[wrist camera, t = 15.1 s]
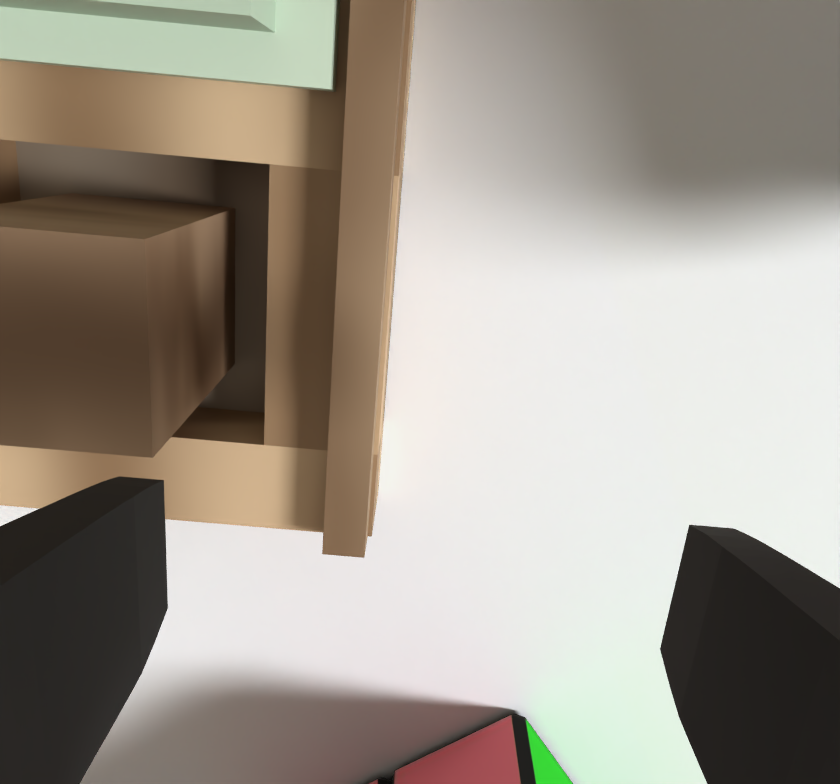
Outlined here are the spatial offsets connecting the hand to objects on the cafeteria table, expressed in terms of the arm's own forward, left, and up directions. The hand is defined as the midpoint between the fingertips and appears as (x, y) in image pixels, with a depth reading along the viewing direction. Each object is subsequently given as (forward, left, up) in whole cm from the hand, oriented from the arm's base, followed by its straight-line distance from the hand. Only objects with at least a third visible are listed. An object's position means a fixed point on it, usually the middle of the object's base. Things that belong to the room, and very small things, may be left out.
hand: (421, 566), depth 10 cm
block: (+7, -2, -10) cm, 12 cm away
